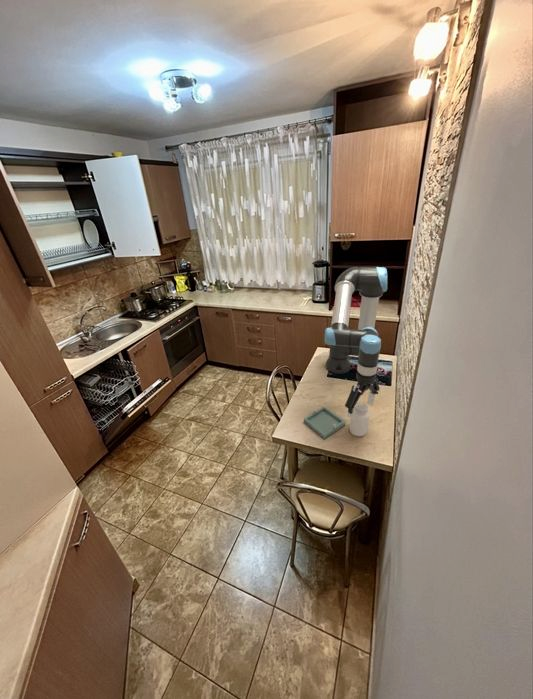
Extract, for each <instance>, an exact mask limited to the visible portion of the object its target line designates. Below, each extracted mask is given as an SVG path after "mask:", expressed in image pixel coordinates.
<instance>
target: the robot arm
mask: <svg viewBox="0 0 533 699" xmlns="http://www.w3.org/2000/svg"><path fill="white" fill-rule="evenodd" d="M387 270H388V269H387V268H386V267H384V266H382V267H379V266H351V267H350V268H347V269H346V270H344V271H342V273H340V275H339V276H338V278H337V279H336V281H335V284H334V291H335V297H334V298H335V299H334V304H333V311H332V318H331V322H330V323H331V324H330V327H326V328H325V331H324V344H325V345H329V352H328V353H329V355H328V358H327V359H326V362H325V368H326V370H327V371H328V372H330V373H332V374H337V375H338V374H341V375H342V374H346V373H348V372H349V371H350V370H351V362H350V358H349V356H352V357H353V356H355V357H358V359H357V366H356V373H355V374H356V376H355V379H356V381H357V384H356V385H352V386H351V388H350V393H349V395H348V397H347V400H346V402H345V404H344V407H345V408H347V418H349V419H352V420H353V419H354V414H355V405H356V404H357V403H358V401H359V400H360V398H361V396H363V395H364V393H365V392H366V391H368V390H369V392H368V398H367V404H368V405H370V406H371V407H374V406H375V405H374V404H375V398H376V395H379V391H380V386H379V382H378V376H377V371H378V362H379V357H380V351H381V348H382V339H381V338H380V337H379V333H378V331H377V330H376V329H375V327H376V326H375V324H376V320H377V313H378V306H379V301H380V298H381V297H382V296H383V294H384V293H385V292H387V290H388V271H387ZM355 291H358V292H359V295H360V296H361V302H360V310H359V318H358V328H357V329H353V328H352V329H350V328H349V324H350V323H349V322H350V314H351V306H352V295H353V294H354V292H355Z"/></svg>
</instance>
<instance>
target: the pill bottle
mask: <svg viewBox="0 0 533 699" xmlns="http://www.w3.org/2000/svg"><path fill="white" fill-rule="evenodd" d="M354 407H355V414H354V419H353V420H352V419H351V418H349V419H350V422H349V428H348V429H349V432H350V433H351V434H352V435H353V436H356V437H364V436H366V434H367V432H368V427H369V424H370V417H371V414H370V413H371V412H370V411H369V408H368V405H367V404H366V403H364V402H357V403H356V405H355V406H354Z"/></svg>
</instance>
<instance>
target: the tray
mask: <svg viewBox="0 0 533 699" xmlns="http://www.w3.org/2000/svg"><path fill="white" fill-rule="evenodd" d="M303 423H304V424H305V425H307V427H309V428H310V429H311V430H312V431H314V432H315V433H316V434H317V435H319V436H320V437H321V438H322V439H323V440H326V439H328V438H329V437H330V436H331V435H334V434H335V433H337V432H338V431H339V430H340V429H342V428H344V426H346V420H345V419H343V418H342V417H341V416H339V415H337V414H336V412H335V413H334V411H332V410H331V409H330V408H328V407H326V406H325V405H324V406H322V407H320V408H319V409H316V408H313V412H312V413H311V414H309V415H306V416H305V417H304V418H303Z"/></svg>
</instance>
